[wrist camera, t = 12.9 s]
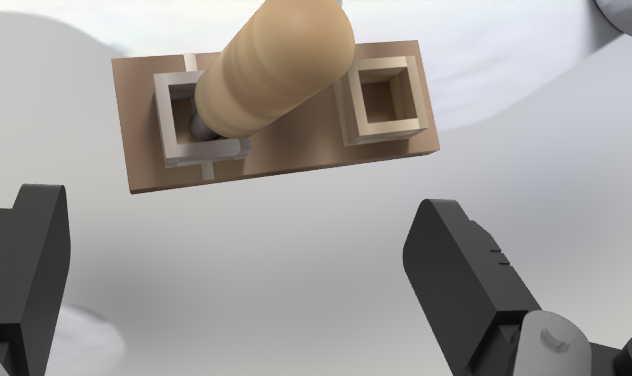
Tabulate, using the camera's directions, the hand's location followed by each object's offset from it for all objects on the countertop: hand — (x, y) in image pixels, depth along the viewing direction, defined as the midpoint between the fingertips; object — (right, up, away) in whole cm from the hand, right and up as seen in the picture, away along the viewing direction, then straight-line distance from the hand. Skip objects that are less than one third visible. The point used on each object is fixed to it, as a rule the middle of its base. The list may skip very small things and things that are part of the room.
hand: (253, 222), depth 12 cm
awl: (-5, +4, +16) cm, 17 cm away
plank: (-1, +5, +19) cm, 20 cm away
